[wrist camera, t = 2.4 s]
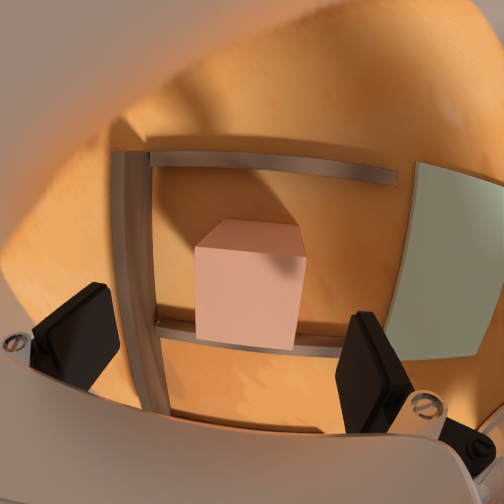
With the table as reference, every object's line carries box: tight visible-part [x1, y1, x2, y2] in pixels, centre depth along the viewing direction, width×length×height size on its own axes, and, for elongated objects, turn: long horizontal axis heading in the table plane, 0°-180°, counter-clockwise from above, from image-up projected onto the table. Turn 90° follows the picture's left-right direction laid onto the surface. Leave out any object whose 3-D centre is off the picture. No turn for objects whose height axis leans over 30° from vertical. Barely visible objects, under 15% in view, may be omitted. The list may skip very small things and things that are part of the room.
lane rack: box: [110, 151, 398, 434], centre depth 20 cm, size 18×27×4 cm, turn 176°
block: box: [195, 219, 307, 350], centre depth 17 cm, size 5×5×7 cm
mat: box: [383, 162, 504, 361], centre depth 18 cm, size 12×16×1 cm
